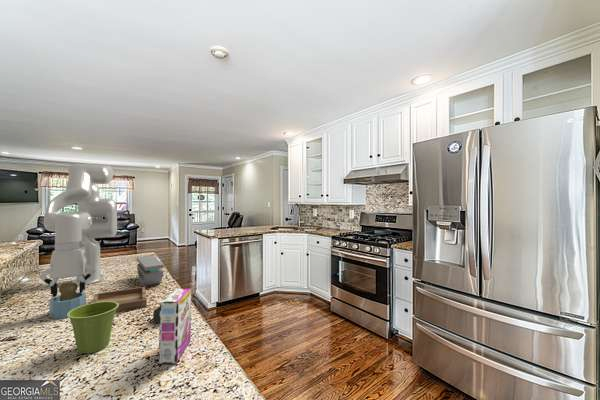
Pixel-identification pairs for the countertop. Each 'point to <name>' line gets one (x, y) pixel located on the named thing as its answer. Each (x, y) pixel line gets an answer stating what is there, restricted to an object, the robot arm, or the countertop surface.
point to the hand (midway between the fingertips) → (68, 293)
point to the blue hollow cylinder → (65, 305)
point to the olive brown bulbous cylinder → (68, 291)
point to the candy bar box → (174, 325)
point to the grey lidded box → (149, 270)
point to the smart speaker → (156, 315)
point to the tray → (124, 298)
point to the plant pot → (92, 325)
